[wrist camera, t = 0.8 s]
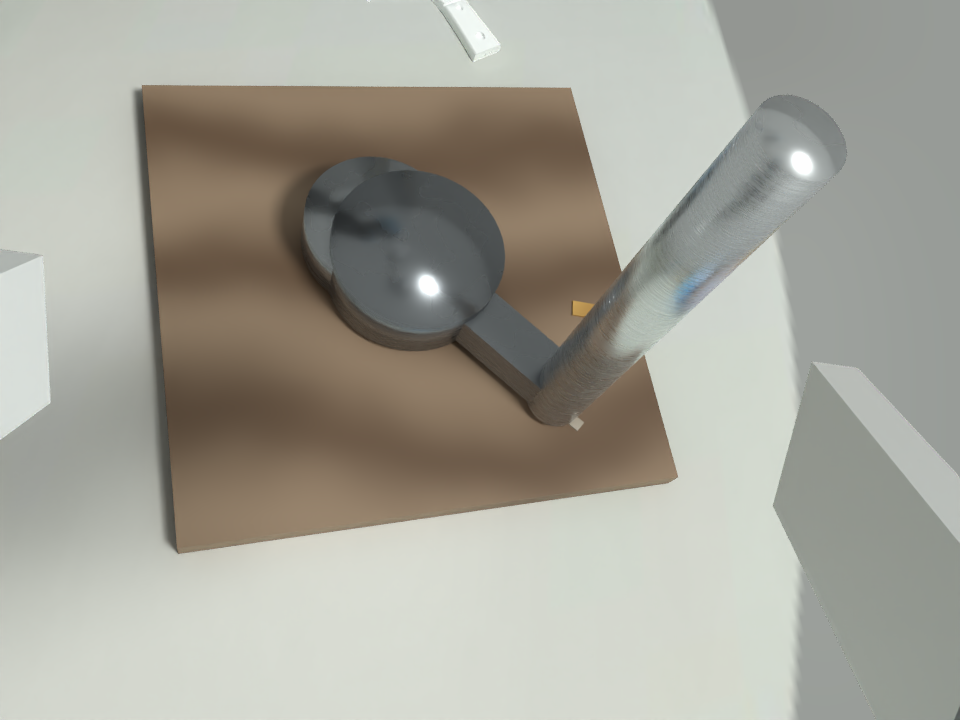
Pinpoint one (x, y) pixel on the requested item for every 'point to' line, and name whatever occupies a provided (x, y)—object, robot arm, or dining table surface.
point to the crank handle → (481, 258)
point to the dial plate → (345, 352)
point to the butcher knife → (468, 28)
